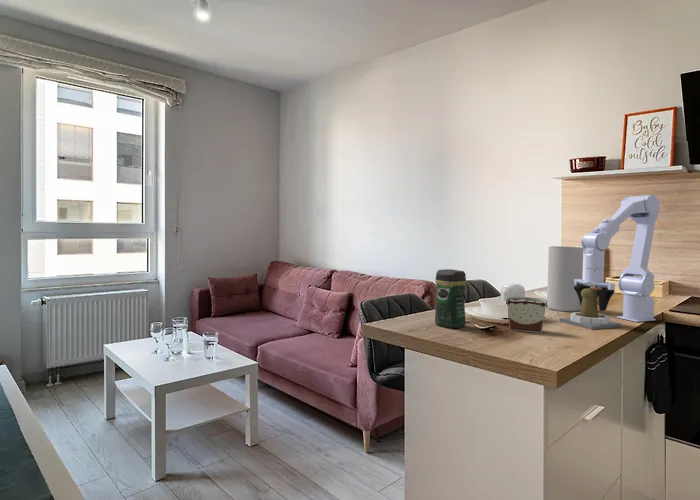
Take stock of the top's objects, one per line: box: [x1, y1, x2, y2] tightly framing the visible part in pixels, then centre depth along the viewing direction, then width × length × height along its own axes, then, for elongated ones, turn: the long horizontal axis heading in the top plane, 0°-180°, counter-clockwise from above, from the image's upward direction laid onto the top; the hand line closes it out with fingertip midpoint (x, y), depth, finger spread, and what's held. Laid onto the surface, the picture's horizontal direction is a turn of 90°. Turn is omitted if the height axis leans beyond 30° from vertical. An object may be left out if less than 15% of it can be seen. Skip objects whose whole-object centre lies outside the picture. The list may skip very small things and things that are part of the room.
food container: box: [505, 296, 549, 334], centre depth 140 cm, size 12×6×10 cm, turn 71°
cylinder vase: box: [546, 246, 584, 313], centre depth 177 cm, size 12×12×25 cm
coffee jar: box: [434, 268, 467, 329], centre depth 145 cm, size 10×8×19 cm
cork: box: [579, 287, 599, 318], centre depth 149 cm, size 6×6×11 cm
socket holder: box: [559, 311, 623, 330], centre depth 149 cm, size 13×13×3 cm
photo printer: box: [499, 283, 526, 302], centre depth 159 cm, size 10×4×12 cm, turn 123°
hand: (592, 308), depth 149 cm, fingers open, 7 cm apart
